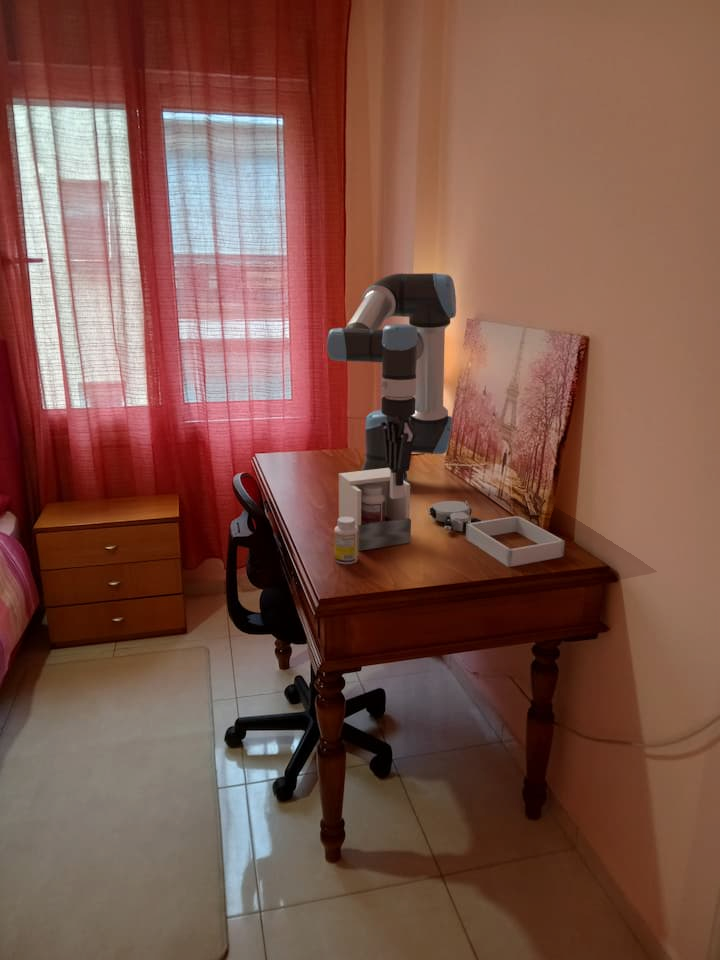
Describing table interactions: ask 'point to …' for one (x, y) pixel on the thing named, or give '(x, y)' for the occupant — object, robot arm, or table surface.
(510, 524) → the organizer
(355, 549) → the supplement bottle
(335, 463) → the table surface
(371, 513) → the pill bottle
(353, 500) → the caddy
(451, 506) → the robot toy
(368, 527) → the drawer
